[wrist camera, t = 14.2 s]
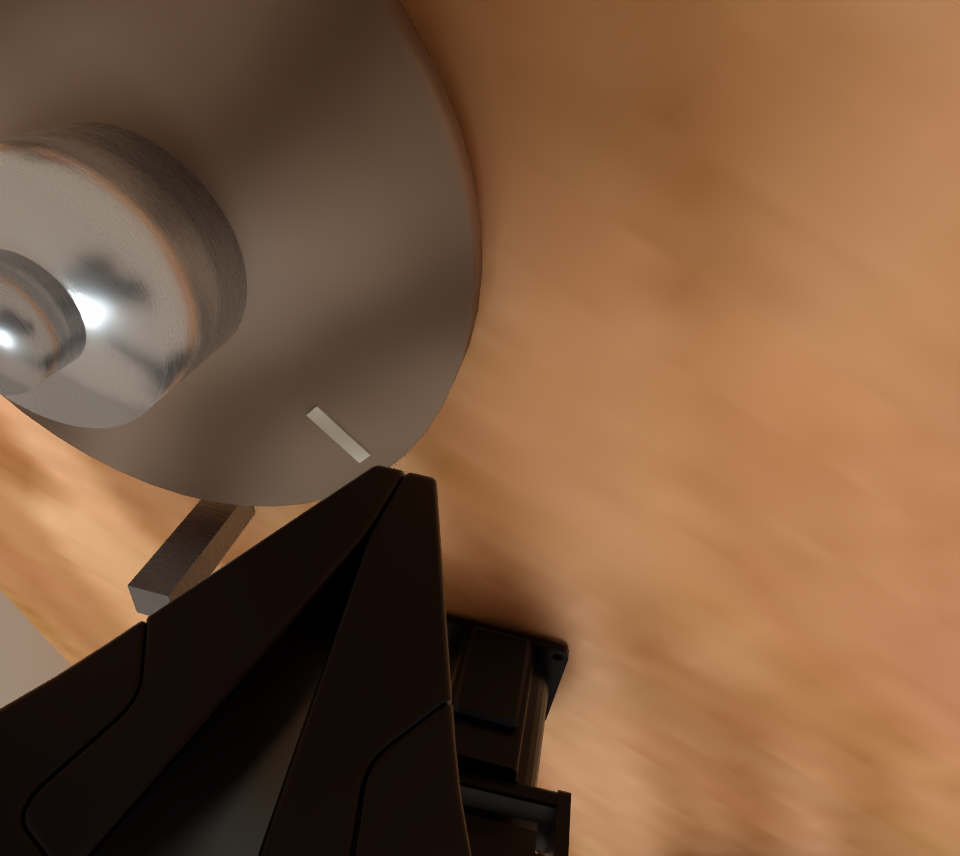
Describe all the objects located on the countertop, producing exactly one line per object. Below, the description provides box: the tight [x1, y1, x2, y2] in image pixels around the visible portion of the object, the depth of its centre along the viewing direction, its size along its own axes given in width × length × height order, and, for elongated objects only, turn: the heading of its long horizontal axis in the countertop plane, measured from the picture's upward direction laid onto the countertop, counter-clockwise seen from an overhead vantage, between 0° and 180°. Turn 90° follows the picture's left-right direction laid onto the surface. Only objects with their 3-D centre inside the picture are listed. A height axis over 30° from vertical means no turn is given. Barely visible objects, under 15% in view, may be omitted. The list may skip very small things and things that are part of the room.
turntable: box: [0, 0, 482, 506], centre depth 17 cm, size 20×20×5 cm
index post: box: [128, 499, 255, 616], centre depth 25 cm, size 2×2×6 cm
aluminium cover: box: [0, 122, 247, 428], centre depth 16 cm, size 7×7×6 cm
